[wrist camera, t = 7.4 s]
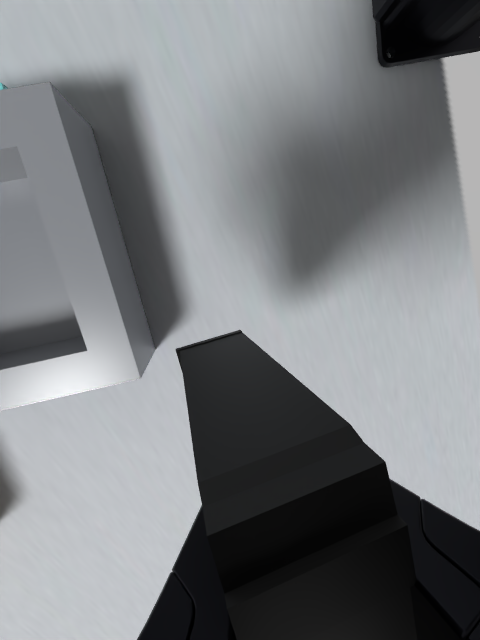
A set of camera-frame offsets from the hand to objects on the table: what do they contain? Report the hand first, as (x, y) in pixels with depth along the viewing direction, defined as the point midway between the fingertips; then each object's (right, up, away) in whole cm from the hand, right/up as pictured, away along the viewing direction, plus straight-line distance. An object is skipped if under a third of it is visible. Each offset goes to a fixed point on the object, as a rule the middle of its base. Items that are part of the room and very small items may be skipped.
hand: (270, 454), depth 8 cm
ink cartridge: (-1, +1, +3) cm, 4 cm away
